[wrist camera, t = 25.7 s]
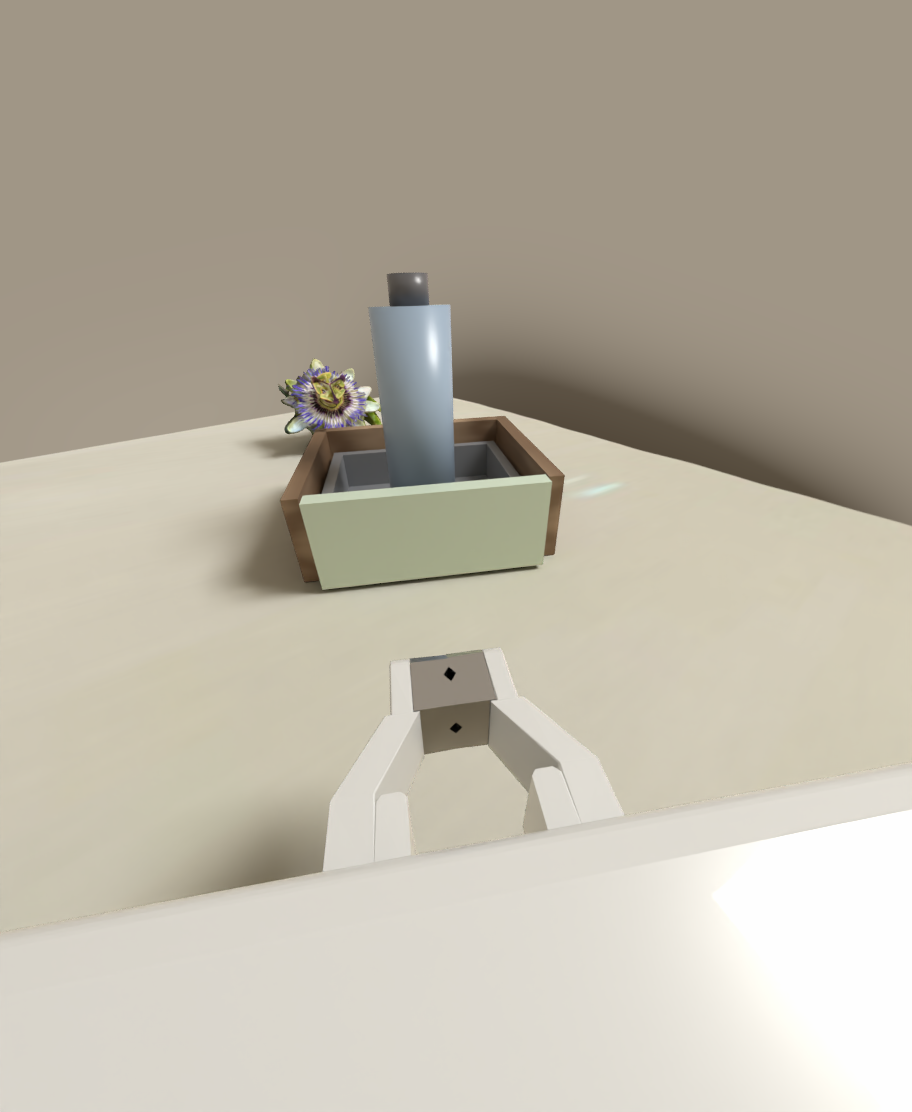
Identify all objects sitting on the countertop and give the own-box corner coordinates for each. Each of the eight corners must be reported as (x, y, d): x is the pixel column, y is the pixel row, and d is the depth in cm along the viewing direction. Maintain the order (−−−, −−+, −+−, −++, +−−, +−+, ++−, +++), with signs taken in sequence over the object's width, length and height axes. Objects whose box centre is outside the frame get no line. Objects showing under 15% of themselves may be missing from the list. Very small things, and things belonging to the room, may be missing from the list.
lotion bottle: (395, 529, 29) (363, 272, 21) (392, 501, 34) (365, 277, 25) (461, 522, 30) (456, 270, 22) (450, 496, 34) (442, 275, 26)
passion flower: (349, 491, 52) (280, 430, 42) (317, 455, 58) (249, 394, 48) (410, 431, 52) (356, 356, 42) (371, 401, 58) (315, 330, 48)
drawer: (322, 591, 25) (298, 504, 22) (342, 493, 38) (329, 429, 34) (542, 565, 27) (552, 481, 24) (492, 480, 39) (493, 417, 36)
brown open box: (304, 582, 26) (280, 500, 23) (329, 490, 39) (315, 429, 36) (554, 554, 28) (564, 475, 25) (502, 475, 41) (504, 415, 37)
